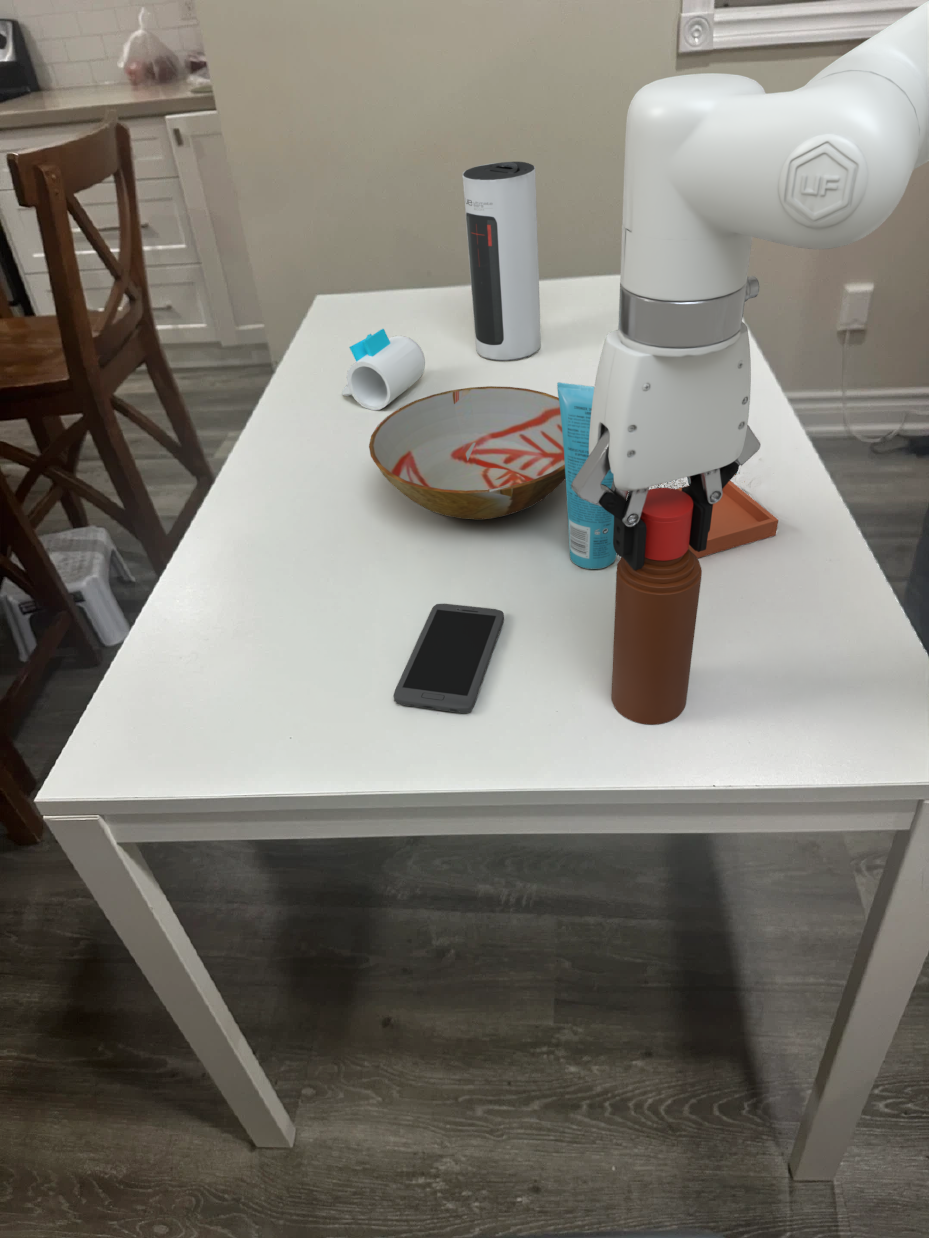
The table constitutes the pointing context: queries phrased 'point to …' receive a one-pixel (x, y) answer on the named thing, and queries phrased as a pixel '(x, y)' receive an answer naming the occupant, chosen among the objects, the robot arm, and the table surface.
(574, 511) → the tube
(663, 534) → the cap
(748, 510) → the tray
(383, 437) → the bowl
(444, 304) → the table surface
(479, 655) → the cell phone
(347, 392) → the mug
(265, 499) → the table surface
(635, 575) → the bottle
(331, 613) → the table surface
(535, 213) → the speaker
